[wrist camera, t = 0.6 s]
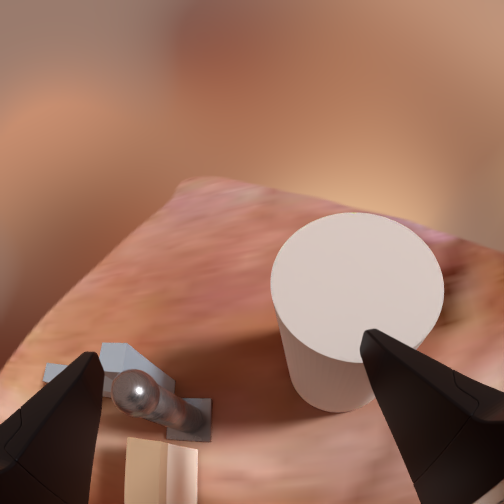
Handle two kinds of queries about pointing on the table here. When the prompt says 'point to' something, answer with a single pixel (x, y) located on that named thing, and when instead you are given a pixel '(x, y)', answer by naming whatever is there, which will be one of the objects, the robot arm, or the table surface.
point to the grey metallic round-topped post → (162, 406)
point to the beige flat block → (160, 473)
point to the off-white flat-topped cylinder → (350, 301)
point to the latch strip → (118, 366)
